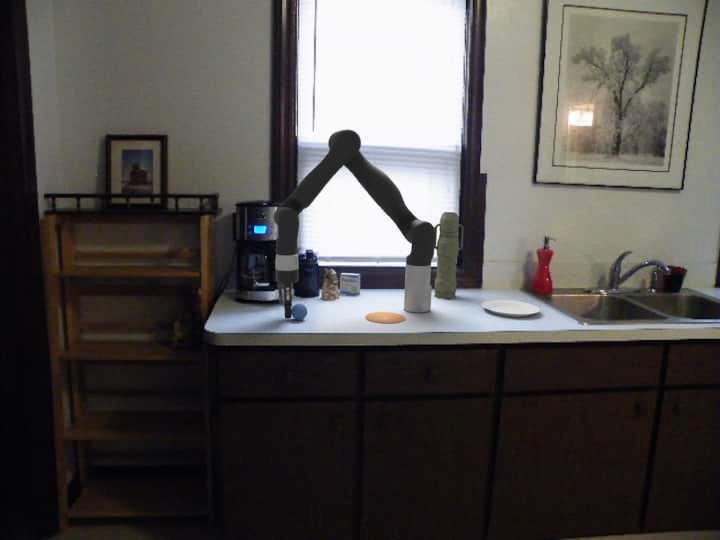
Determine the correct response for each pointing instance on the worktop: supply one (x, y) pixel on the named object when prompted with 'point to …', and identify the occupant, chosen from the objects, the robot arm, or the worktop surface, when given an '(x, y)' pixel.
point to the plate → (511, 308)
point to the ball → (299, 311)
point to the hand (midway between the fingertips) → (288, 317)
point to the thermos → (447, 254)
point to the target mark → (385, 317)
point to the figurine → (330, 286)
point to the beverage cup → (281, 292)
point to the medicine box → (349, 284)
